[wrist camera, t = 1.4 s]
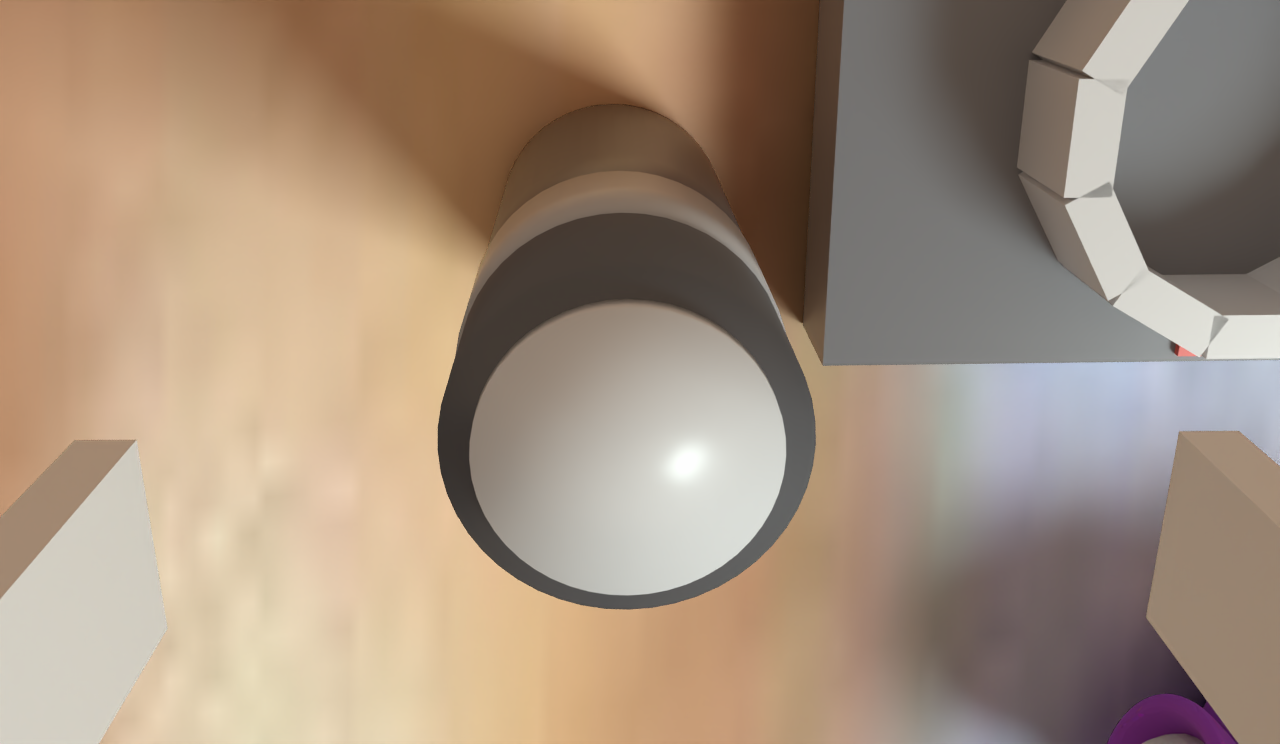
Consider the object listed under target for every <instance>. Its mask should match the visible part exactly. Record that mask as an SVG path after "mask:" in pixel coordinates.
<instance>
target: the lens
mask: <svg viewBox="0 0 1280 744" xmlns="http://www.w3.org/2000/svg"><path fill="white" fill-rule="evenodd" d="M815 445H816V435H815V416H814V410H813V404H812V398H811V395H810V392H809V389H808V385H807V382H806V379H805V376H804V374H803V372H802V369H801V367H800V365H799V363H798V360H797V358H796V356H795V353H794V351H793V349H792V347H791V344H790V342H789V340H788V337H787V335H786V332H785V328H784V325H783V322H782V319H781V315H780V312H779V309H778V307H777V305H776V303H775V301H774V298H773V296H772V294H771V292H770V289H769V287H768V285H767V283H766V280H765V278H764V276H763V274H762V271H761V269H760V267H759V265H758V262H757V260H756V258H755V256H754V254H753V252H752V250H751V248H750V245H749V244H748V242H747V241H746V239H745V237H744V236H743V234H742V232H741V230H740V228H739V226H738V223H737V221H736V219H735V217H734V214H733V212H732V210H731V207H730V205H729V203H728V201H727V198H726V196H725V194H724V191H723V189H722V187H721V185H720V182H719V180H718V178H717V175H716V173H715V171H714V169H713V167H712V165H711V163H710V160H709V159H708V157H707V156H706V154H705V153H704V151H703V150H702V148H701V147H700V146H699V145H698V143H697V142H696V141H695V140H694V139H693V138H692V137H691V136H690V135H689V134H688V133H687V132H686V131H685V130H684V129H682V128H681V127H680V126H678V125H677V124H675V123H674V122H672V121H671V120H669V119H668V118H666V117H664V116H662V115H660V114H658V113H655V112H653V111H650V110H647V109H644V108H640V107H635V106H630V105H620V104H606V105H595V106H591V107H586V108H582V109H579V110H576V111H573V112H570V113H568V114H566V115H564V116H562V117H560V118H558V119H556V120H554V121H553V122H551V123H550V124H549V125H547V126H546V127H544V128H543V129H542V130H541V131H540V132H538V133H537V134H536V135H535V136H534V137H533V138H532V139H531V140H530V142H529V143H528V144H527V145H526V146H525V147H524V149H523V150H522V152H521V153H520V155H519V156H518V158H517V160H516V161H515V163H514V165H513V168H512V170H511V172H510V174H509V177H508V181H507V184H506V187H505V190H504V194H503V197H502V201H501V204H500V207H499V211H498V214H497V218H496V221H495V224H494V228H493V231H492V234H491V238H490V241H489V245H488V248H487V250H486V252H485V254H484V257H483V259H482V261H481V263H480V266H479V270H478V273H477V276H476V279H475V283H474V286H473V289H472V293H471V296H470V299H469V303H468V306H467V309H466V312H465V316H464V319H463V322H462V326H461V329H460V332H459V337H458V343H457V350H456V356H455V360H454V363H453V367H452V370H451V373H450V377H449V380H448V383H447V387H446V390H445V394H444V397H443V400H442V404H441V410H440V416H439V423H438V455H439V462H440V469H441V474H442V478H443V481H444V485H445V488H446V492H447V494H448V497H449V499H450V501H451V503H452V506H453V508H454V510H455V512H456V514H457V516H458V518H459V519H460V521H461V522H462V524H463V526H464V527H465V529H466V530H467V532H468V534H469V535H470V536H471V537H472V538H473V540H474V541H475V542H476V543H477V544H478V546H479V547H480V548H481V549H482V550H483V551H484V552H485V553H486V554H487V555H488V556H489V557H490V558H491V559H492V560H493V561H494V562H495V563H497V564H498V565H499V566H500V567H501V568H503V569H504V570H505V571H507V572H508V573H510V574H511V575H512V576H514V577H515V578H517V579H518V580H520V581H522V582H524V583H525V584H527V585H529V586H531V587H533V588H534V589H536V590H538V591H541V592H543V593H546V594H548V595H551V596H553V597H556V598H558V599H561V600H565V601H569V602H572V603H576V604H580V605H585V606H591V607H598V608H604V609H641V608H653V607H658V606H663V605H668V604H674V603H677V602H680V601H684V600H687V599H690V598H693V597H696V596H699V595H701V594H703V593H706V592H708V591H710V590H712V589H715V588H717V587H719V586H721V585H722V584H724V583H726V582H727V581H729V580H731V579H732V578H734V577H736V576H738V575H739V574H740V573H742V572H743V571H744V570H745V569H747V568H748V567H749V566H751V565H752V564H753V563H755V562H756V561H757V560H758V559H759V558H760V557H761V556H762V555H763V554H764V553H765V552H766V551H767V550H768V549H769V548H770V547H771V546H772V545H773V544H774V543H775V541H776V540H777V539H778V538H779V536H780V535H781V534H782V533H783V531H784V530H785V529H786V528H787V526H788V524H789V522H790V521H791V519H792V517H793V516H794V514H795V512H796V511H797V509H798V507H799V505H800V502H801V500H802V498H803V495H804V493H805V491H806V488H807V485H808V482H809V478H810V474H811V471H812V467H813V460H814V453H815Z"/></svg>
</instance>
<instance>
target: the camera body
mask: <svg viewBox="0 0 1280 744" xmlns="http://www.w3.org/2000/svg"><path fill="white" fill-rule="evenodd" d="M803 326H804V328H805V330H806V332H807V334H808V336H809V338H810V340H811V343H812V345H813V347H814V349H815V351H816V353H817V355H818V357H819V359H820V361H821V363H822V365H823V366H829V365H909V364H989V363H1069V362H1149V361H1229V360H1280V0H820V4H819V24H818V43H817V62H816V82H815V101H814V120H813V140H812V159H811V178H810V198H809V217H808V236H807V255H806V275H805V294H804V313H803Z"/></svg>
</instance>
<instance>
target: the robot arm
mask: <svg viewBox="0 0 1280 744" xmlns="http://www.w3.org/2000/svg"><path fill="white" fill-rule="evenodd" d="M1146 618H1147V620H1148V621H1149V622H1150V624H1151V625H1152V626H1153V628H1154V629H1155V630H1156V632H1157V633H1158V635H1159V636H1160V637H1161V639H1162V640H1163V641H1164V643H1165V644H1166V645H1167V647H1168V648H1169V650H1170V651H1171V652H1172V654H1173V655H1174V656H1175V658H1176V659H1177V660H1178V662H1179V663H1180V665H1181V666H1182V667H1183V669H1184V670H1185V671H1186V673H1187V674H1188V675H1189V677H1190V678H1191V680H1192V681H1193V682H1194V684H1195V685H1196V686H1197V688H1198V689H1199V690H1200V692H1201V693H1202V695H1203V696H1204V697H1205V699H1206V700H1207V701H1208V703H1209V704H1210V705H1211V707H1212V708H1213V710H1214V711H1215V712H1216V714H1217V715H1218V716H1219V718H1220V719H1221V720H1222V722H1223V723H1224V725H1225V726H1226V727H1227V729H1228V730H1229V731H1230V733H1231V734H1232V735H1233V737H1234V738H1235V739H1236V741H1237V742H1238V744H1280V466H1279V465H1278V464H1276V463H1275V462H1274V461H1273V460H1272V459H1271V458H1269V457H1268V456H1267V455H1266V454H1265V453H1264V452H1263V451H1261V450H1260V449H1259V448H1258V447H1257V446H1256V445H1254V444H1253V443H1252V442H1251V441H1250V440H1249V439H1248V438H1246V437H1245V436H1244V435H1243V434H1242V433H1241V432H1239V431H1179V435H1178V441H1177V446H1176V452H1175V458H1174V463H1173V469H1172V474H1171V480H1170V485H1169V491H1168V497H1167V502H1166V508H1165V513H1164V519H1163V524H1162V530H1161V536H1160V541H1159V547H1158V552H1157V558H1156V564H1155V569H1154V575H1153V580H1152V586H1151V591H1150V597H1149V603H1148V608H1147V614H1146ZM166 630H167V622H166V616H165V610H164V604H163V598H162V592H161V586H160V580H159V574H158V568H157V561H156V555H155V549H154V543H153V537H152V531H151V525H150V519H149V513H148V507H147V500H146V494H145V488H144V482H143V476H142V470H141V464H140V458H139V452H138V446H137V440H74V441H73V442H72V443H71V444H70V445H69V446H68V448H67V449H66V450H65V451H64V452H63V453H62V454H61V455H60V456H59V457H58V458H57V459H56V460H55V461H54V462H53V463H52V464H51V465H50V466H49V467H48V468H47V469H46V470H45V471H44V472H43V473H42V474H41V475H40V476H39V478H38V479H37V480H36V481H35V482H34V483H33V484H32V485H31V486H30V487H29V488H28V489H27V490H26V491H25V492H24V493H23V494H22V495H21V496H20V497H19V498H18V499H17V500H16V501H15V502H14V503H13V504H12V505H11V507H10V508H9V509H8V510H7V511H6V512H5V513H4V514H3V515H2V516H1V517H0V744H99V743H100V741H101V739H102V738H103V736H104V734H105V733H106V731H107V729H108V728H109V726H110V724H111V722H112V721H113V719H114V717H115V716H116V714H117V712H118V711H119V709H120V707H121V706H122V704H123V702H124V701H125V699H126V697H127V696H128V694H129V692H130V691H131V689H132V687H133V686H134V684H135V682H136V681H137V679H138V677H139V675H140V674H141V672H142V670H143V669H144V667H145V665H146V664H147V662H148V660H149V659H150V657H151V655H152V654H153V652H154V650H155V649H156V647H157V645H158V644H159V642H160V640H161V639H162V637H163V635H164V634H165V632H166Z"/></svg>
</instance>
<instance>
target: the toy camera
mask: <svg viewBox="0 0 1280 744" xmlns="http://www.w3.org/2000/svg"><path fill="white" fill-rule="evenodd" d="M1107 744H1238V742H1237V741H1236V739H1235V738H1234V737H1233V735H1232V734H1231V733H1230V731H1229V730H1228V729H1227V727H1226V726H1225V725H1224V723H1223V722H1222V720H1221V719H1220V718H1219V716H1218V715H1217V714H1216V712H1215V711H1214V710H1213V708H1212V707H1211V705H1210V704H1209V703H1208V701H1207V702H1206V704H1205V705H1204V707H1203V708H1202V707H1201V706H1199V705H1198V704H1196V703H1195V702H1193V701H1191V700H1189V699H1187V698H1184V697H1182V696H1179V695H1173V694H1159V695H1154V696H1151V697H1148V698H1146V699H1144V700H1142V701H1140V702H1139V703H1137V704H1136V705H1134V706H1133V707H1132V708H1131V709H1130V710H1129V711H1128V712H1127V713H1126V714H1125V715H1124V716H1123V717H1122V719H1121V720H1120V721H1119V723H1118V724H1117V725H1116V727H1115V729H1114V730H1113V732H1112V734H1111V736H1110V738H1109V740H1108V742H1107Z"/></svg>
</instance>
